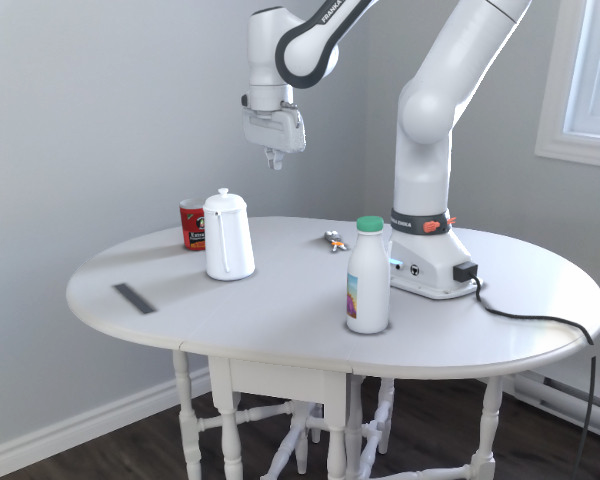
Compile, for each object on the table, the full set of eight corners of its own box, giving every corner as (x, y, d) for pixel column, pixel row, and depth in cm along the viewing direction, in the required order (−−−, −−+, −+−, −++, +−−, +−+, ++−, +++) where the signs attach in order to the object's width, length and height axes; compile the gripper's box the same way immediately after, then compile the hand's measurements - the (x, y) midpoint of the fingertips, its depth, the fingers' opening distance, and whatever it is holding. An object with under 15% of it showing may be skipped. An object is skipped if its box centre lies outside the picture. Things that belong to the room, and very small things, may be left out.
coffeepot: (198, 296, 134) (186, 205, 124) (214, 256, 155) (205, 176, 145) (249, 294, 134) (242, 204, 124) (258, 255, 155) (253, 174, 145)
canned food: (190, 252, 158) (185, 208, 152) (180, 244, 164) (174, 200, 158) (219, 247, 161) (215, 203, 155) (208, 239, 167) (203, 196, 161)
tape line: (153, 310, 128) (153, 310, 128) (144, 313, 127) (144, 312, 127) (123, 284, 141) (123, 283, 141) (114, 286, 140) (114, 285, 140)
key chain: (322, 236, 166) (322, 231, 165) (336, 235, 166) (336, 229, 165) (333, 252, 155) (333, 246, 154) (348, 251, 155) (348, 245, 154)
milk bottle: (392, 319, 121) (397, 213, 110) (383, 337, 115) (387, 226, 104) (352, 315, 123) (354, 211, 113) (341, 332, 117) (342, 223, 106)
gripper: (311, 102, 126) (313, 174, 133) (260, 93, 140) (264, 159, 148) (284, 105, 123) (287, 179, 130) (235, 96, 138) (240, 163, 145)
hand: (275, 168), depth 139 cm, fingers closed
